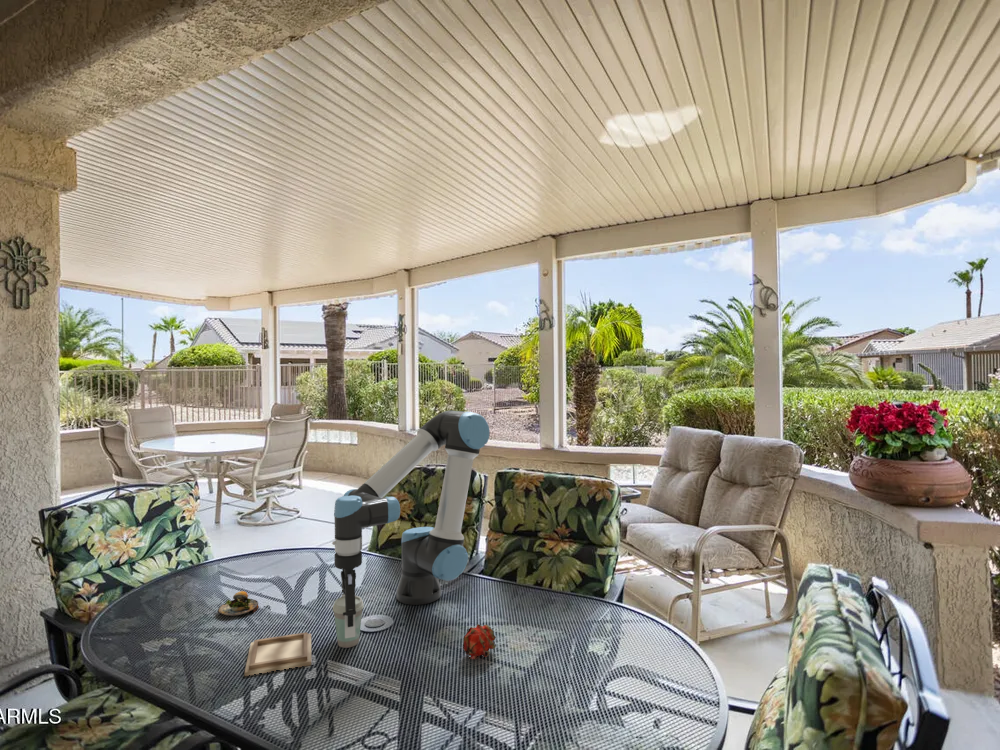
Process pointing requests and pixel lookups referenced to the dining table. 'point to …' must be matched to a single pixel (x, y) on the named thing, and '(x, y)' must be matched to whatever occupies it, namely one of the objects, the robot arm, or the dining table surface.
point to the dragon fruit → (479, 641)
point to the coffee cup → (340, 622)
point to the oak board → (279, 653)
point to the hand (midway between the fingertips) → (348, 626)
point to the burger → (239, 605)
